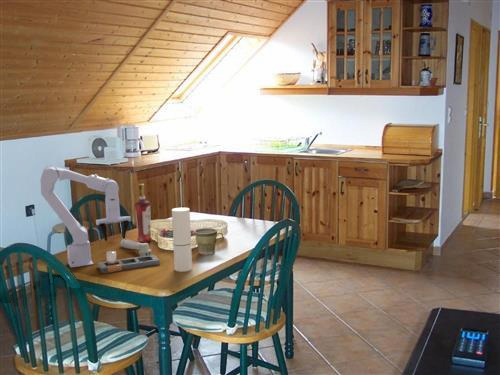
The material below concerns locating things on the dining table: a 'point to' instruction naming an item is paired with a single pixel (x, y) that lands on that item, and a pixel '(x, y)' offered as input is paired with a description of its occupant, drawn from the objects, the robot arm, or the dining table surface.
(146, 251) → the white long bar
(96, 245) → the dining table surface
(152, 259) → the grey slotted tray
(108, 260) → the peg
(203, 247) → the ceramic cup
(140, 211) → the liquor
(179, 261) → the cylindrical container
